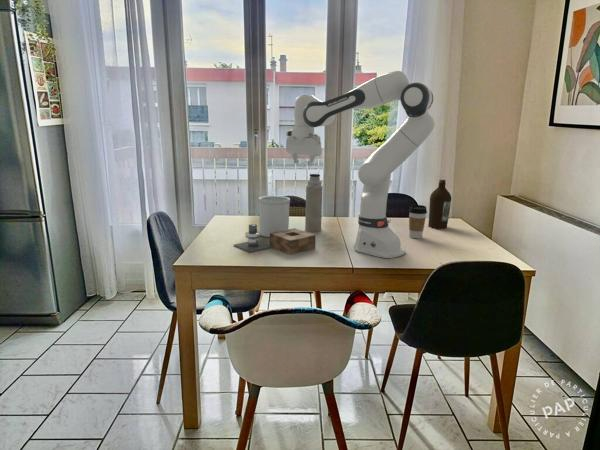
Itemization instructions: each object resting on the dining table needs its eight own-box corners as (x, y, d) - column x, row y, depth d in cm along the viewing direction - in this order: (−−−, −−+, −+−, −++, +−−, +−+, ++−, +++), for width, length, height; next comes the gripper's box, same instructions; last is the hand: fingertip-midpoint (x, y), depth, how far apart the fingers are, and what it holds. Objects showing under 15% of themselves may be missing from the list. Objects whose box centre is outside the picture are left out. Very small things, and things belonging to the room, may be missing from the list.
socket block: (315, 248, 186) (315, 234, 184) (290, 254, 177) (290, 240, 175) (294, 240, 196) (294, 228, 194) (269, 246, 187) (269, 233, 185)
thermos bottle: (305, 227, 219) (307, 172, 212) (321, 228, 219) (323, 173, 212) (304, 231, 212) (305, 175, 205) (320, 232, 211) (322, 175, 204)
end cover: (263, 245, 185) (263, 225, 183) (251, 248, 181) (250, 227, 179) (255, 242, 190) (254, 222, 188) (242, 244, 186) (242, 224, 184)
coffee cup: (427, 237, 207) (430, 206, 203) (419, 240, 201) (422, 209, 197) (411, 233, 212) (414, 203, 209) (403, 236, 206) (405, 206, 203)
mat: (272, 247, 185) (272, 246, 185) (249, 252, 178) (249, 251, 177) (256, 241, 194) (256, 239, 194) (233, 245, 186) (233, 244, 186)
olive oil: (423, 226, 226) (427, 179, 220) (433, 223, 234) (438, 177, 227) (441, 230, 219) (447, 182, 213) (451, 227, 226) (457, 180, 220)
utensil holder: (269, 228, 216) (270, 194, 212) (295, 232, 209) (295, 197, 205) (252, 234, 204) (252, 198, 200) (278, 239, 197) (279, 202, 193)
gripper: (325, 134, 184) (324, 166, 187) (294, 132, 198) (293, 162, 202) (314, 134, 180) (313, 167, 183) (283, 132, 194) (283, 162, 198)
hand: (303, 164), depth 193 cm, fingers open, 8 cm apart
